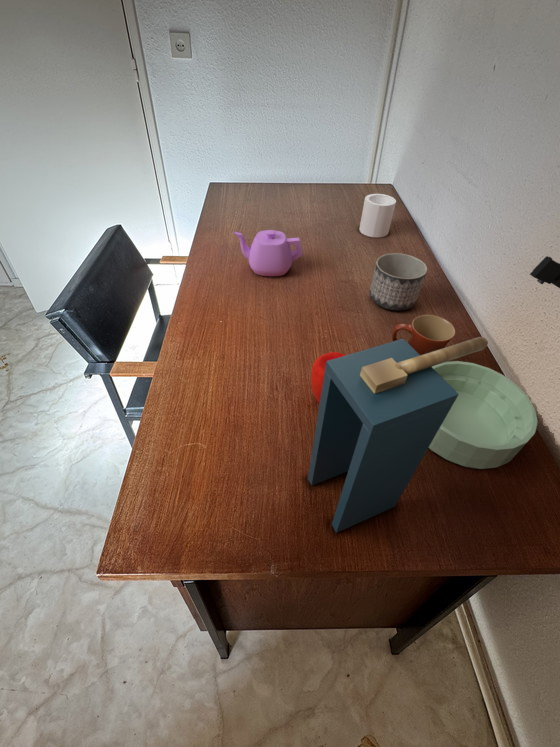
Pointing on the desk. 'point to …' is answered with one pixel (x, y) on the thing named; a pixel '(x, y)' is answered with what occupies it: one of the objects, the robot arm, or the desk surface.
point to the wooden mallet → (414, 364)
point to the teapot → (270, 252)
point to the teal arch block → (375, 431)
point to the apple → (321, 372)
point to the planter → (397, 281)
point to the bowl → (483, 417)
